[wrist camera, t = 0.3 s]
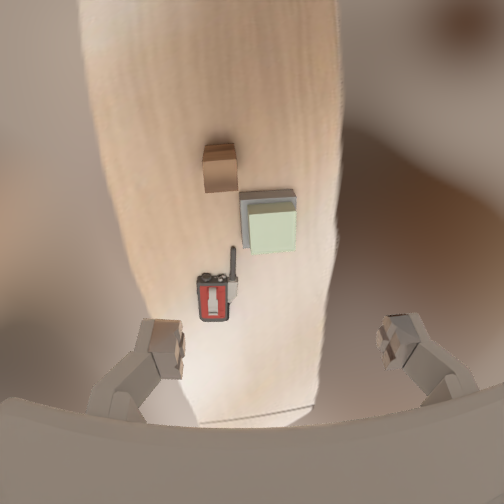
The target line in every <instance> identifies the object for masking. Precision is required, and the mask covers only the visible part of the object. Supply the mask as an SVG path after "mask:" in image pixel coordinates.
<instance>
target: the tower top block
mask: <svg viewBox="0 0 504 504" xmlns="http://www.w3.org/2000/svg"><path fill="white" fill-rule="evenodd" d="M247 212H248V228H249V244H250V250H251V255H257V254H268V253H279V252H290V251H295V249H296V209H295V207H294V205H293V203H292V201H291V202H277V203H263V204H251V205H247Z"/></svg>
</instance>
